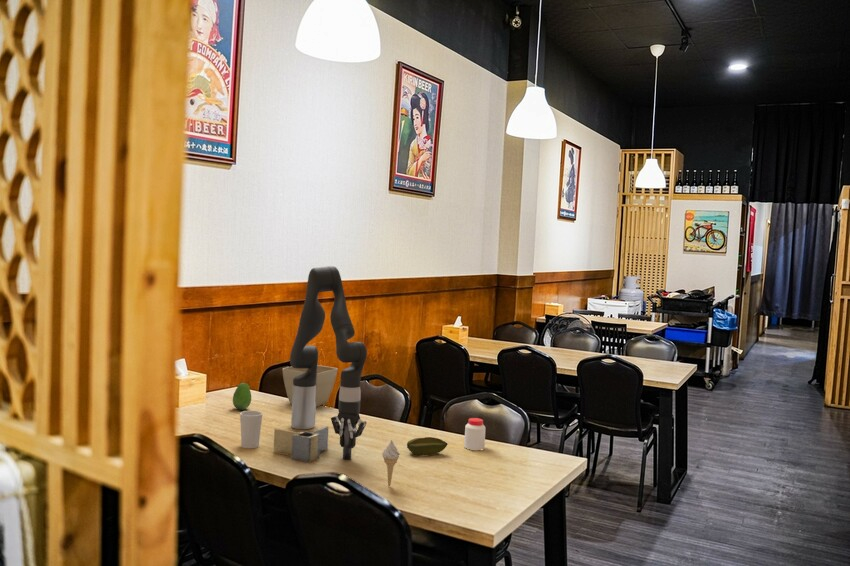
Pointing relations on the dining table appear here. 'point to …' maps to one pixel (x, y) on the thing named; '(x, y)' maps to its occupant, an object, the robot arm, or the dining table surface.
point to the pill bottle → (475, 434)
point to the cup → (250, 428)
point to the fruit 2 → (426, 446)
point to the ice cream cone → (390, 459)
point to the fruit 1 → (242, 396)
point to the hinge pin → (346, 444)
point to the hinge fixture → (301, 443)
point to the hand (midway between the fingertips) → (347, 446)
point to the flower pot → (323, 382)
